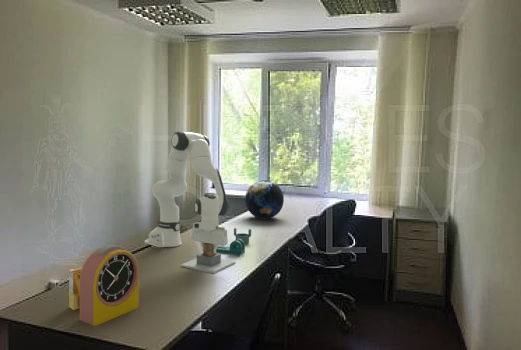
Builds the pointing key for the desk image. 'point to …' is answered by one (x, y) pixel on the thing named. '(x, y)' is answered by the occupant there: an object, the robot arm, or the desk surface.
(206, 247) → the walnut block
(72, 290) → the candy box
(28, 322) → the desk surface
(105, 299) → the alarm clock
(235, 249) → the bracket
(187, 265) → the well
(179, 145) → the robot arm
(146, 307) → the desk surface
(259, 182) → the globe
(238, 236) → the bracket
